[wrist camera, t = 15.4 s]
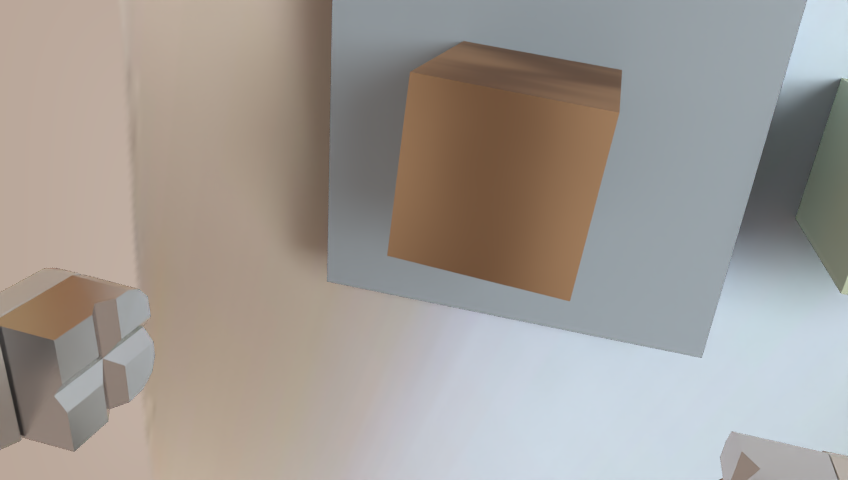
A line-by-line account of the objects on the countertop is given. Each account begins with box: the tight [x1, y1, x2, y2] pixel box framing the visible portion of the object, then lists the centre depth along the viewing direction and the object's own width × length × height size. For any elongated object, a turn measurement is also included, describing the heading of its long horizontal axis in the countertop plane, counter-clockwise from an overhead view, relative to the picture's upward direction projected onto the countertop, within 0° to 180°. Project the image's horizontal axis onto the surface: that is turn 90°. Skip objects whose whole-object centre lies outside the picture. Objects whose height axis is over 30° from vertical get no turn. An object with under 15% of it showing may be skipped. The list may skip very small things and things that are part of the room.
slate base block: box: [327, 0, 807, 358], centre depth 24 cm, size 14×14×4 cm
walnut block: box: [387, 41, 622, 301], centre depth 20 cm, size 5×5×6 cm
